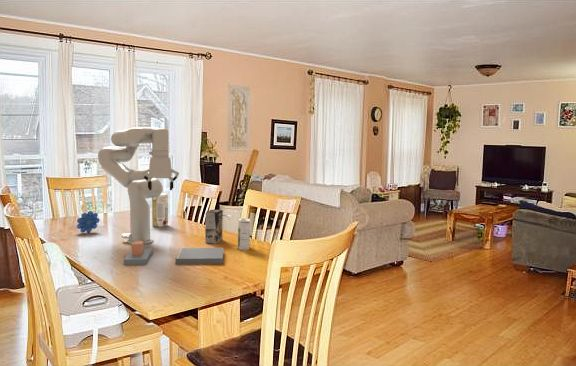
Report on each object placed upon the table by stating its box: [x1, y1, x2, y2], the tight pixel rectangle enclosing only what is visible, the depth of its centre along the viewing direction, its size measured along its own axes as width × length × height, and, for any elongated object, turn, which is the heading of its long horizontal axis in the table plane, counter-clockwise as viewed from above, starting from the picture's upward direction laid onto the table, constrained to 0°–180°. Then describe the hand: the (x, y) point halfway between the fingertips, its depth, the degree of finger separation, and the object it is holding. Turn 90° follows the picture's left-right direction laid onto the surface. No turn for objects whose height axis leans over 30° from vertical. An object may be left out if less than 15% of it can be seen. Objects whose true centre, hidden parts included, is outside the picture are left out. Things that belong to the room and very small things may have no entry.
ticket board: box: [174, 247, 224, 265], centre depth 208 cm, size 20×18×3 cm
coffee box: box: [204, 209, 224, 244], centre depth 240 cm, size 9×6×16 cm
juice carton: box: [151, 192, 169, 228], centre depth 275 cm, size 8×9×19 cm
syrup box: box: [237, 217, 251, 251], centre depth 227 cm, size 6×6×14 cm
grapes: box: [76, 210, 100, 233], centre depth 254 cm, size 12×7×12 cm, turn 121°
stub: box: [123, 241, 154, 266], centre depth 204 cm, size 9×18×7 cm, turn 7°
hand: (160, 189), depth 222 cm, fingers open, 9 cm apart
